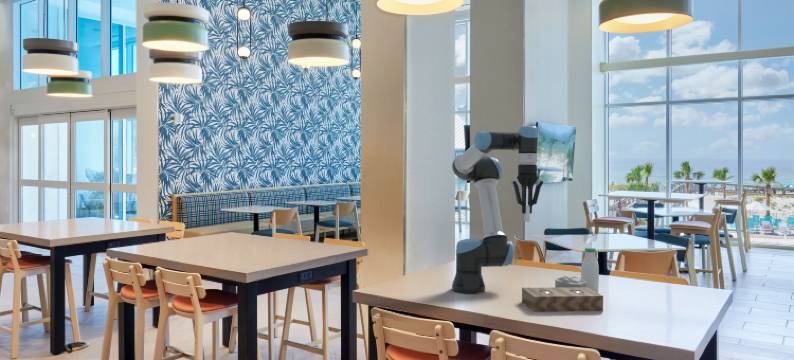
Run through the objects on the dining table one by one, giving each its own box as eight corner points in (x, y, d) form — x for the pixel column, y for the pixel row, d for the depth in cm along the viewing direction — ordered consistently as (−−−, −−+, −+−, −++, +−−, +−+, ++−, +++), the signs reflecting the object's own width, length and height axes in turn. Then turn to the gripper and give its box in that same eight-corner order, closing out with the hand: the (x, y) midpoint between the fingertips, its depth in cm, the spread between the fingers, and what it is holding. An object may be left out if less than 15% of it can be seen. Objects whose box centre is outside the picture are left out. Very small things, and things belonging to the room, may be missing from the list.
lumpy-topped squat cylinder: (576, 301, 242) (577, 281, 242) (549, 296, 252) (550, 276, 252) (588, 297, 250) (589, 278, 249) (562, 292, 259) (562, 273, 259)
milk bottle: (599, 293, 257) (600, 249, 256) (581, 293, 258) (582, 248, 258) (597, 290, 264) (598, 247, 264) (579, 289, 266) (580, 246, 265)
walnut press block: (533, 311, 225) (534, 296, 225) (521, 301, 241) (522, 287, 240) (602, 311, 227) (603, 295, 227) (586, 301, 243) (586, 287, 243)
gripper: (514, 163, 230) (513, 222, 230) (546, 164, 231) (545, 222, 231) (509, 163, 237) (508, 220, 238) (540, 164, 238) (539, 220, 239)
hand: (526, 221), depth 235 cm, fingers closed
